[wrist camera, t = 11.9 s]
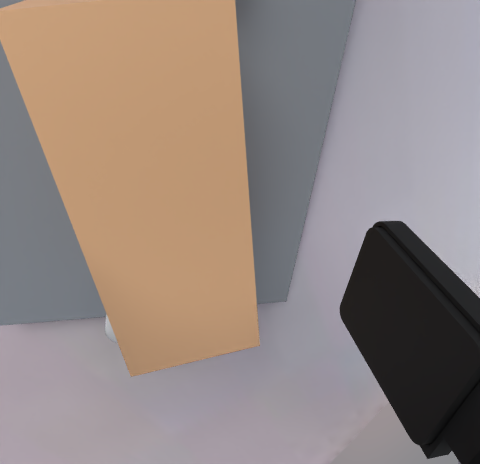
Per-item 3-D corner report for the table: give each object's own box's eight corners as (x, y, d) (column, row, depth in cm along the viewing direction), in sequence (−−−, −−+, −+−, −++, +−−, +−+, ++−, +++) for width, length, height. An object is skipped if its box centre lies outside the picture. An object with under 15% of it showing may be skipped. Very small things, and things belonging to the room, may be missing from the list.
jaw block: (47, -8, 13) (-11, 12, 8) (192, -22, 14) (234, -14, 9) (130, 262, 20) (130, 376, 15) (224, 243, 21) (259, 345, 15)
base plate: (-141, -216, 11) (-271, -304, 7) (362, -112, 15) (437, -136, 11) (7, 305, 22) (-17, 373, 18) (278, 285, 26) (303, 338, 22)
